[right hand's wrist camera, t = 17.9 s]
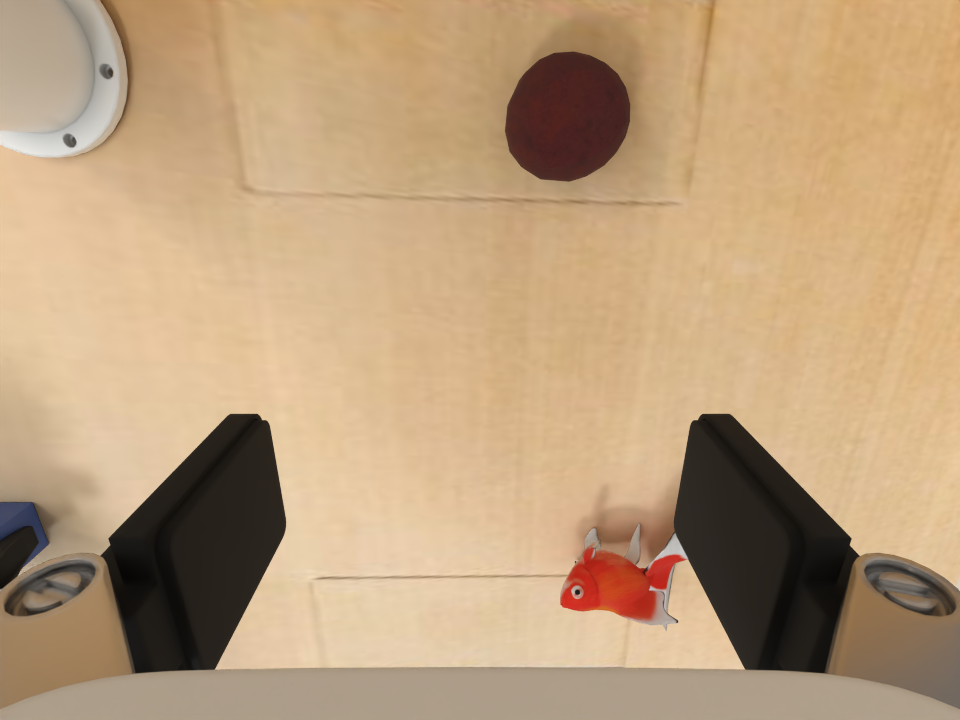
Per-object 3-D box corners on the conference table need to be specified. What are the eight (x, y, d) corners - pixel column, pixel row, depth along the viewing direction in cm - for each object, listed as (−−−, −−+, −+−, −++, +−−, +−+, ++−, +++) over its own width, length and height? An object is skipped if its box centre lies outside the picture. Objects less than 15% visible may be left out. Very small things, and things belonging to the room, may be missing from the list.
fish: (561, 502, 42) (632, 625, 35) (701, 463, 48) (783, 561, 42) (528, 567, 48) (582, 679, 42) (654, 525, 55) (718, 617, 48)
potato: (628, 145, 36) (662, 143, 29) (528, 198, 37) (539, 208, 31) (588, 37, 34) (614, 9, 27) (482, 98, 35) (483, 85, 28)
